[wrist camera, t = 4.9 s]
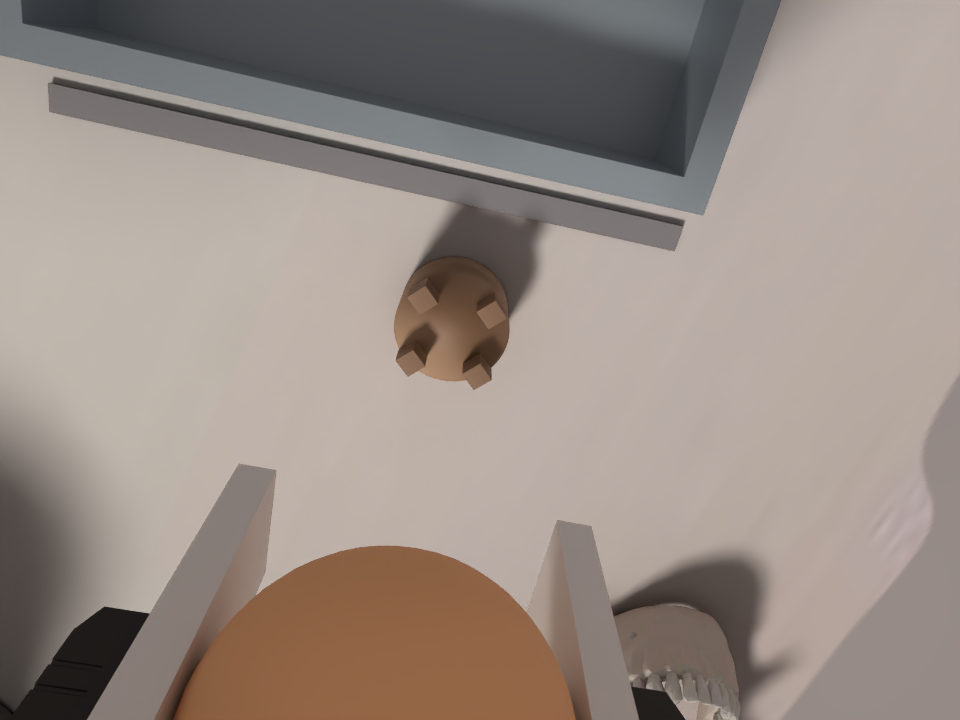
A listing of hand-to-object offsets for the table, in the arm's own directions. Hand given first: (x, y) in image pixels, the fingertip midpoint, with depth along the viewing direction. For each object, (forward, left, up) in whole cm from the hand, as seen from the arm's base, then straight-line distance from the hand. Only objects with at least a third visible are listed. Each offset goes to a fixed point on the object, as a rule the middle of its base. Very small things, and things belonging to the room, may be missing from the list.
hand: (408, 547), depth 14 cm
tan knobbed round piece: (0, 0, -15) cm, 15 cm away
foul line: (-4, +5, -15) cm, 16 cm away
